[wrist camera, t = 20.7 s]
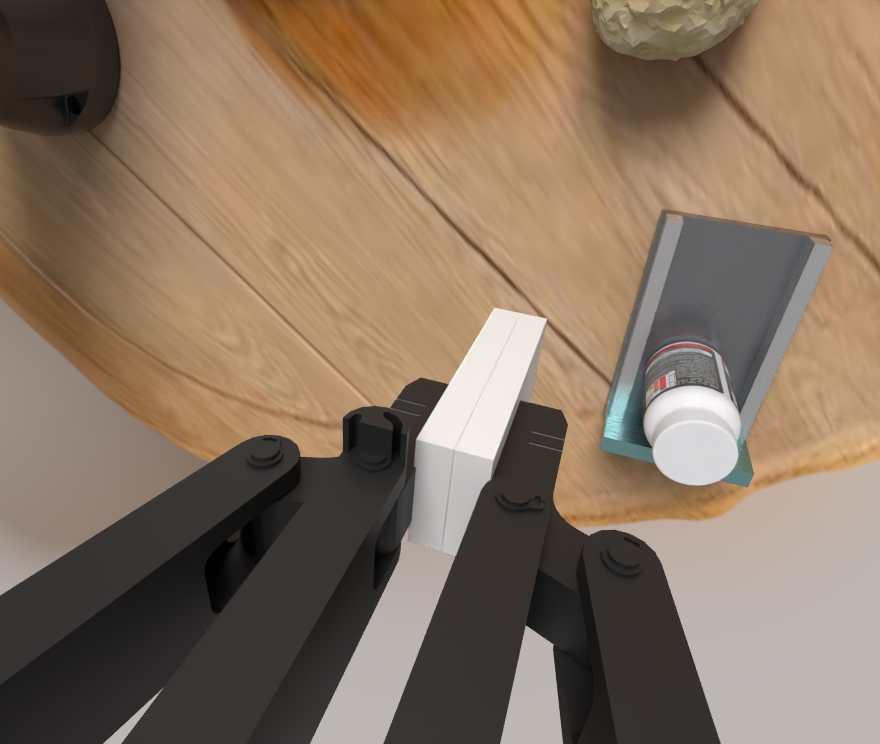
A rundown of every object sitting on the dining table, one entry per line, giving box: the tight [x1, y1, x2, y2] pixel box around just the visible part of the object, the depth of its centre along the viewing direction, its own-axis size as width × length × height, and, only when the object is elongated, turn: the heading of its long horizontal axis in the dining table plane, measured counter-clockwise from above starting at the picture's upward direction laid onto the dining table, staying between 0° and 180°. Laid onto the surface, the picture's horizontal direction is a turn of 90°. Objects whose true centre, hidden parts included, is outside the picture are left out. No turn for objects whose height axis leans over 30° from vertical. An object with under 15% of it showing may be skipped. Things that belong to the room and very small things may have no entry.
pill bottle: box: [643, 342, 741, 486], centre depth 37 cm, size 6×6×10 cm
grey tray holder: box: [600, 209, 834, 487], centre depth 38 cm, size 16×10×6 cm, turn 175°
